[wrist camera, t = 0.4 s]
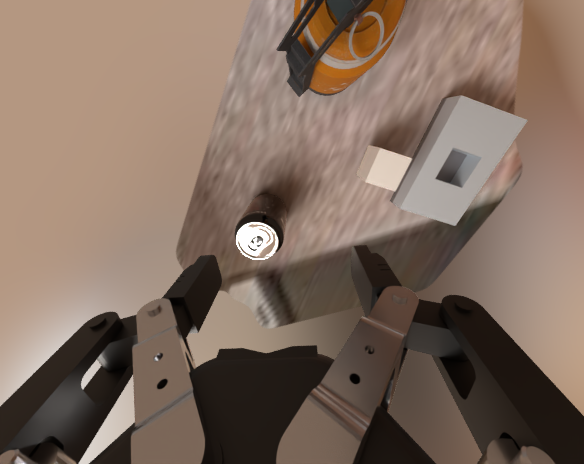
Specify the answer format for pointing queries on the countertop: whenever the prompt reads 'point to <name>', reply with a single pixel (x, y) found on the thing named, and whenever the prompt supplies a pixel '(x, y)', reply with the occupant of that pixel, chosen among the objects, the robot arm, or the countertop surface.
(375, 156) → the cream rectangular block
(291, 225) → the countertop surface
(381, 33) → the canister
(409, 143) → the countertop surface
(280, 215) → the beverage can
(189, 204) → the countertop surface
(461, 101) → the grey rectangular block
